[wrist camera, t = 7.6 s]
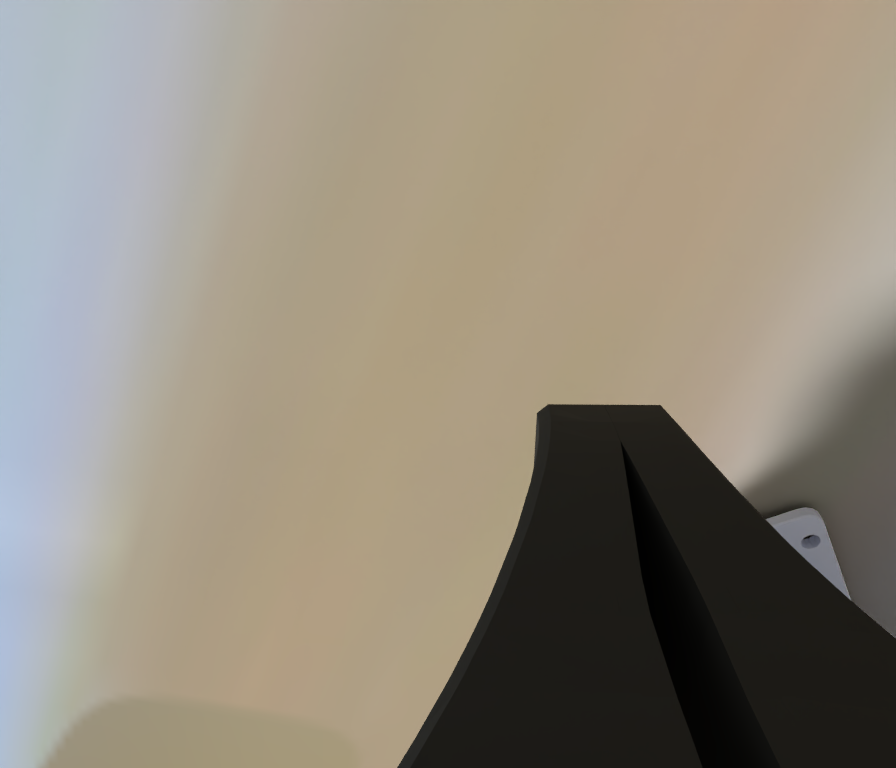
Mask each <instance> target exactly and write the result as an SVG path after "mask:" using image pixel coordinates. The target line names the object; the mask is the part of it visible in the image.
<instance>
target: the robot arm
mask: <svg viewBox="0 0 896 768" xmlns="http://www.w3.org/2000/svg"><path fill="white" fill-rule="evenodd" d="M808 535H813V536H812V537H810V538H808V539H803V538H804V537H806V536H808ZM397 768H896V639H895V638H894V637H893V636H892V635H890V634H889V633H888V632H887V631H886V630H885V629H883V628H882V627H881V626H880V625H879V624H877V623H876V622H875V621H874V620H873V619H872V618H870V617H869V616H868V615H867V614H866V613H864V612H863V611H862V610H861V609H860V608H859V607H858V606H856V605H855V604H854V603H853V602H852V601H851V598H850V595H849V592H848V590H847V587H846V584H845V581H844V578H843V575H842V572H841V569H840V566H839V564H838V561H837V558H836V555H835V552H834V549H833V546H832V543H831V541H830V538H829V535H828V532H827V529H826V526H825V523H824V521H823V519H822V517H821V515H820V514H819V513H818V511H816V510H815V509H813V508H806V507H805V508H799V509H795V510H792V511H789V512H786V513H783V514H780V515H777V516H774V517H771V518H768V519H765V518H764V517H763V516H762V515H761V514H760V513H759V512H758V511H757V510H756V509H755V508H754V507H753V506H752V505H751V504H750V503H749V502H748V501H747V500H746V499H745V498H744V497H743V496H742V494H741V493H740V492H739V491H738V490H737V489H736V488H735V487H734V486H733V485H732V484H731V483H730V482H729V481H728V479H727V478H726V477H725V476H724V475H723V474H722V473H721V472H720V471H719V470H718V468H717V467H716V466H715V465H714V464H713V463H712V462H711V461H710V460H709V459H708V457H707V456H706V455H705V454H704V453H703V452H702V451H701V450H700V448H699V447H698V446H697V445H696V444H695V443H694V442H693V441H692V439H691V438H690V437H689V436H688V435H687V434H686V433H685V432H684V430H683V429H682V428H681V427H680V426H679V425H678V424H677V423H676V422H675V420H674V419H673V418H672V417H671V416H670V415H669V414H668V413H667V412H666V411H665V410H664V409H663V407H662V406H661V405H553V404H548V405H547V406H546V407H544V408H543V409H542V410H540V411H539V412H538V413H537V424H536V441H535V459H534V470H533V474H532V479H531V483H530V486H529V490H528V493H527V496H526V500H525V503H524V506H523V510H522V513H521V516H520V520H519V523H518V526H517V529H516V532H515V535H514V538H513V540H512V543H511V545H510V548H509V550H508V553H507V555H506V558H505V560H504V563H503V565H502V568H501V570H500V573H499V575H498V578H497V580H496V583H495V585H494V588H493V590H492V593H491V595H490V597H489V600H488V602H487V604H486V606H485V608H484V610H483V613H482V615H481V617H480V619H479V621H478V623H477V625H476V628H475V630H474V632H473V634H472V636H471V638H470V640H469V642H468V644H467V646H466V648H465V650H464V652H463V654H462V655H461V657H460V659H459V661H458V663H457V665H456V667H455V669H454V671H453V673H452V675H451V677H450V679H449V680H448V682H447V684H446V686H445V687H444V689H443V691H442V693H441V694H440V696H439V698H438V700H437V701H436V703H435V705H434V707H433V708H432V710H431V712H430V714H429V715H428V717H427V719H426V721H425V722H424V724H423V726H422V728H421V729H420V731H419V733H418V735H417V736H416V738H415V740H414V741H413V743H412V745H411V746H410V748H409V750H408V751H407V753H406V754H405V756H404V758H403V759H402V761H401V763H400V764H399V766H398V767H397Z"/></svg>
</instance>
